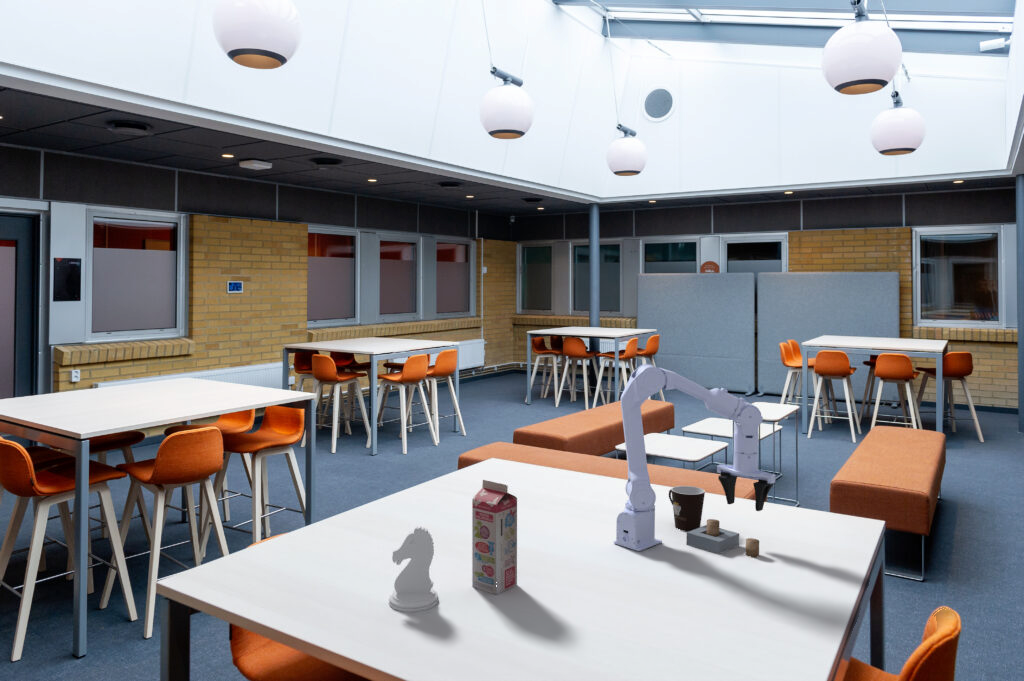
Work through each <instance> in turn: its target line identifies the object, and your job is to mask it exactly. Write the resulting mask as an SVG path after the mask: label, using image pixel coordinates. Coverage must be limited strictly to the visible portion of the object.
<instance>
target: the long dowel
mask: <svg viewBox="0 0 1024 681" xmlns="http://www.w3.org/2000/svg"><path fill="white" fill-rule="evenodd" d="M706 525H707V535H710V536H714V537H717V536H719V528H720V520H718V519H715V518H708V519H707V520H706Z"/></svg>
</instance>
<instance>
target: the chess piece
mask: <svg viewBox="0 0 1024 681" xmlns="http://www.w3.org/2000/svg"><path fill="white" fill-rule="evenodd" d="M434 544H435V543H434V540H433V538H432V534H431V533H430V531H429V530H428V528H426V527H422V526H415V527H414V530H413V531H411V532H409V533H408V534H407V535H406V537H405V539H404V540H403V542H402V543H401V545H400V546H399V547H398V548H397V549H394V550H393V551H392V562H393V563H394V564H395V563H396V565H397V566H400V565H401V564H402V562H403V561H404V560H407V559H409V561H408V562H407V563H406V565H405V566H404V567H403V568H402V570H401V571H400V572H399V573H398V575H397V576H396V578H395V580H394V583H393V584H394V590H393V591H392V592H391V594H390V595H389V597H388V605H389V607H390V608H391V609H394V610H396V611H399V612H404V613H405V612H406V613H415V612H422V611H427V610H428V609H432V608H434V607H435V606H437V604H438V602H439V596H438V593H437V591H436V590H435V589H434V588H433V587H434V581H432V579H431V577H430V566H431V565H432V562H433V557H434V555H435V549H434V548H435V547H434Z"/></svg>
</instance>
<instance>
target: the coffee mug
mask: <svg viewBox="0 0 1024 681" xmlns="http://www.w3.org/2000/svg"><path fill="white" fill-rule="evenodd" d="M705 493H706V490H705V489H703V488H702V487H697V486H693V485H692V486H691V485H677V486H673V487H672V488H670V489H669V490H668V500H669V501H670V503H671V505H672V509H673V511H672V512H673V519H674V527H675V529H677V528H678V529H677V530H679V529H680V531H682V530H685V531H684V532H689V531H692V530H695V529H697V528H700V527H701V524H702V516H703V509H704V508H703V507H704V501H705Z"/></svg>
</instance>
